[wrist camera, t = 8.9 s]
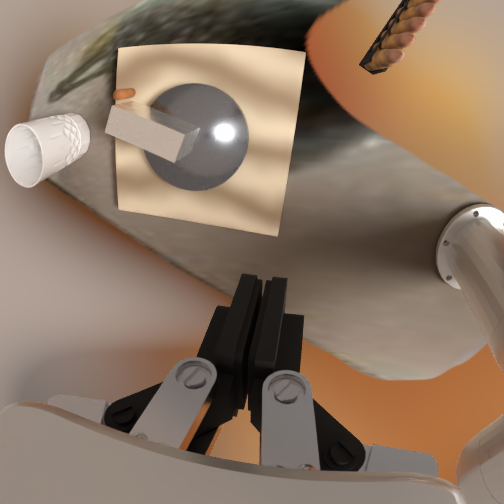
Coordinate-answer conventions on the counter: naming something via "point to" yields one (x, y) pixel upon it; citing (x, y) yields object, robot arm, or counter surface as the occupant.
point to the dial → (186, 134)
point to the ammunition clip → (398, 35)
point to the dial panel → (257, 116)
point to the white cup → (45, 147)
